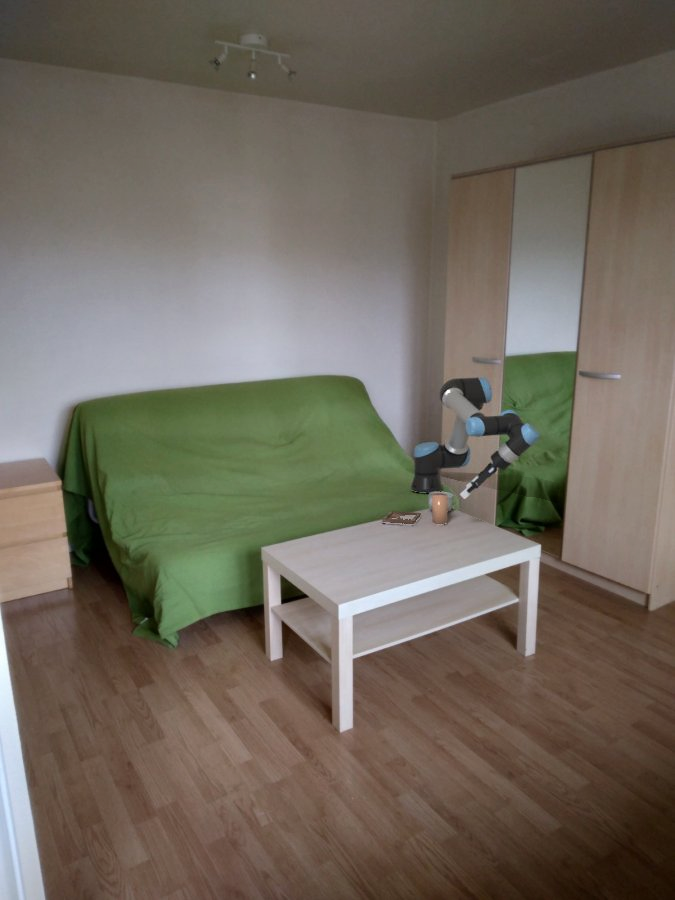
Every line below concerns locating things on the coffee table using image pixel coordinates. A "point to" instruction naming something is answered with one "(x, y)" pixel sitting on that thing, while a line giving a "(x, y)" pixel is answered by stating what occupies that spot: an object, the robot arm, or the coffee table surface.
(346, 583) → the coffee table surface
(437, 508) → the pillar candle
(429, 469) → the robot arm
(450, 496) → the teacup
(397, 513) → the tray
